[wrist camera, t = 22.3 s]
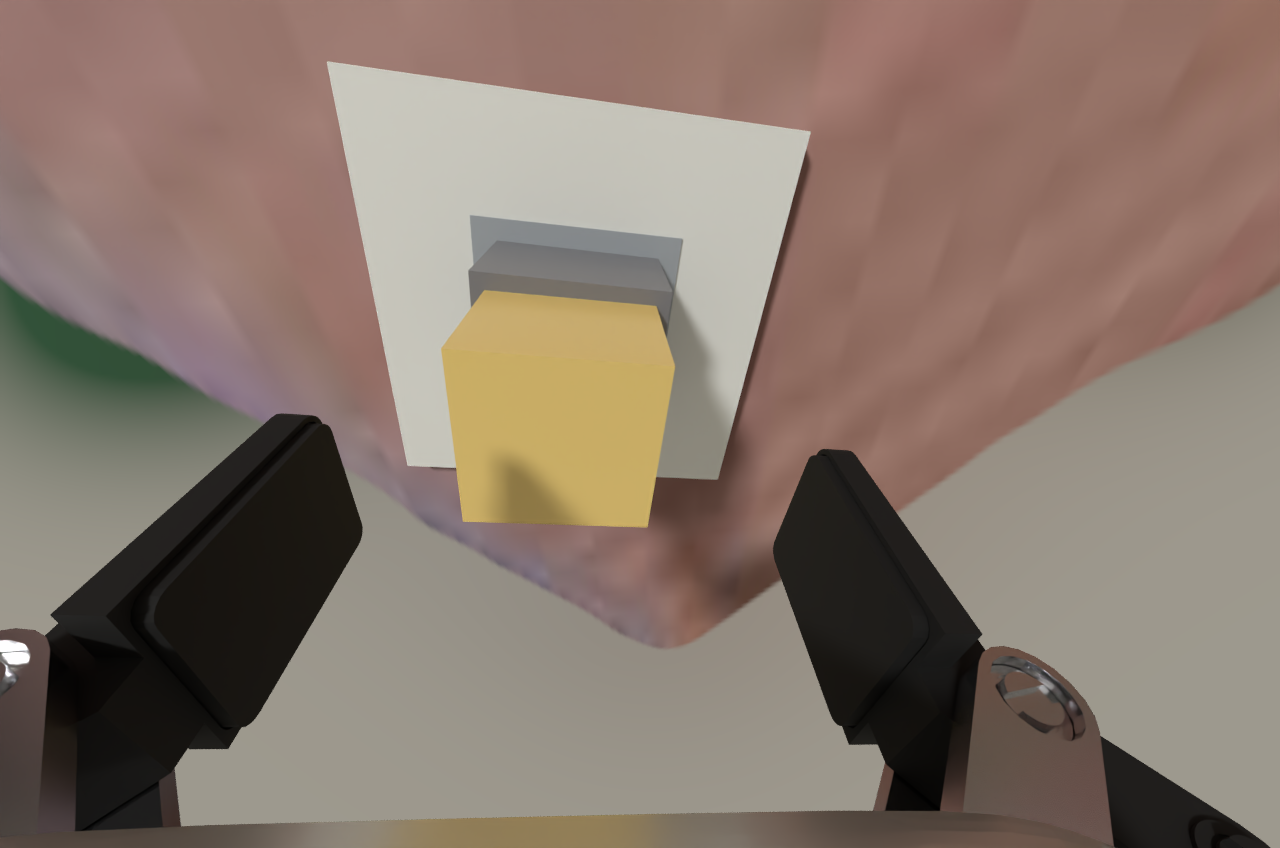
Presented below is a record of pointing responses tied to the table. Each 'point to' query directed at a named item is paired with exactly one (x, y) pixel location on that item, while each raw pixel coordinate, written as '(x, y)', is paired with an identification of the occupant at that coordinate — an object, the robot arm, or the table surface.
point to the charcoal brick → (571, 275)
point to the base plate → (563, 228)
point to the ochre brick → (557, 409)
